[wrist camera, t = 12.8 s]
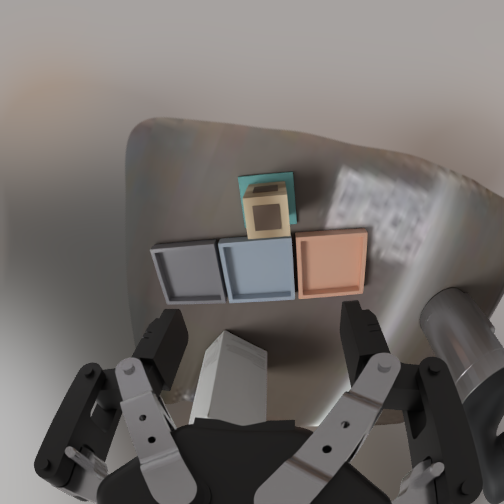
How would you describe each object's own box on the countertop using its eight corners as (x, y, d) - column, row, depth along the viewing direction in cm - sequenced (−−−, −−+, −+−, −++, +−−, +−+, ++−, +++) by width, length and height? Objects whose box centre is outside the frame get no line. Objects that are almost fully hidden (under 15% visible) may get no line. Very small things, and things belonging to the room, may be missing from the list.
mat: (292, 171, 29) (292, 172, 29) (296, 222, 32) (296, 223, 31) (238, 176, 30) (238, 177, 30) (245, 226, 33) (245, 227, 32)
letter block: (284, 180, 29) (287, 193, 24) (288, 215, 31) (290, 236, 26) (248, 183, 30) (242, 197, 24) (253, 218, 32) (248, 239, 26)
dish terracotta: (364, 227, 31) (367, 232, 30) (360, 287, 35) (362, 293, 34) (295, 232, 32) (295, 237, 31) (298, 292, 36) (298, 299, 35)
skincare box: (205, 349, 42) (182, 431, 28) (226, 326, 40) (205, 416, 26) (248, 371, 44) (237, 451, 30) (271, 351, 41) (266, 438, 27)
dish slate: (290, 232, 32) (291, 237, 31) (294, 292, 36) (295, 299, 35) (220, 238, 33) (217, 243, 32) (231, 296, 37) (229, 302, 36)
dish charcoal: (216, 238, 34) (213, 244, 32) (227, 296, 37) (225, 302, 36) (154, 244, 35) (149, 249, 33) (170, 298, 38) (167, 304, 37)
